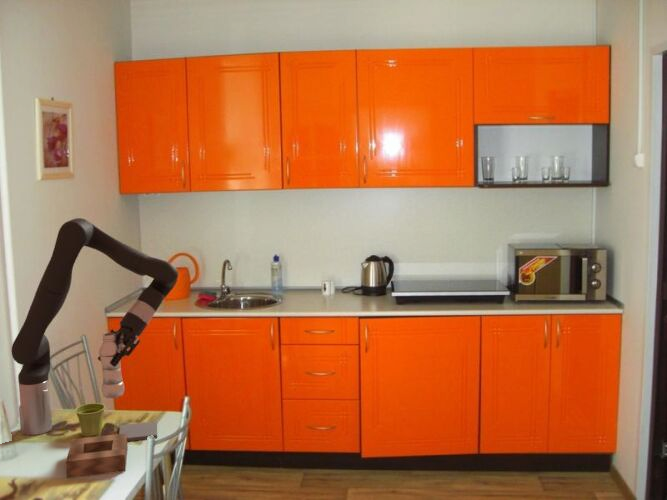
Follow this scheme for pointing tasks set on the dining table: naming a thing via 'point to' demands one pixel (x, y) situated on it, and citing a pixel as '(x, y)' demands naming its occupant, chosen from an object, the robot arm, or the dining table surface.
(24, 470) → the dining table surface
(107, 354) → the plastic bottle
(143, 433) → the slate mat
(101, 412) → the plant pot
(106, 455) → the pocket block
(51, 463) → the dining table surface
